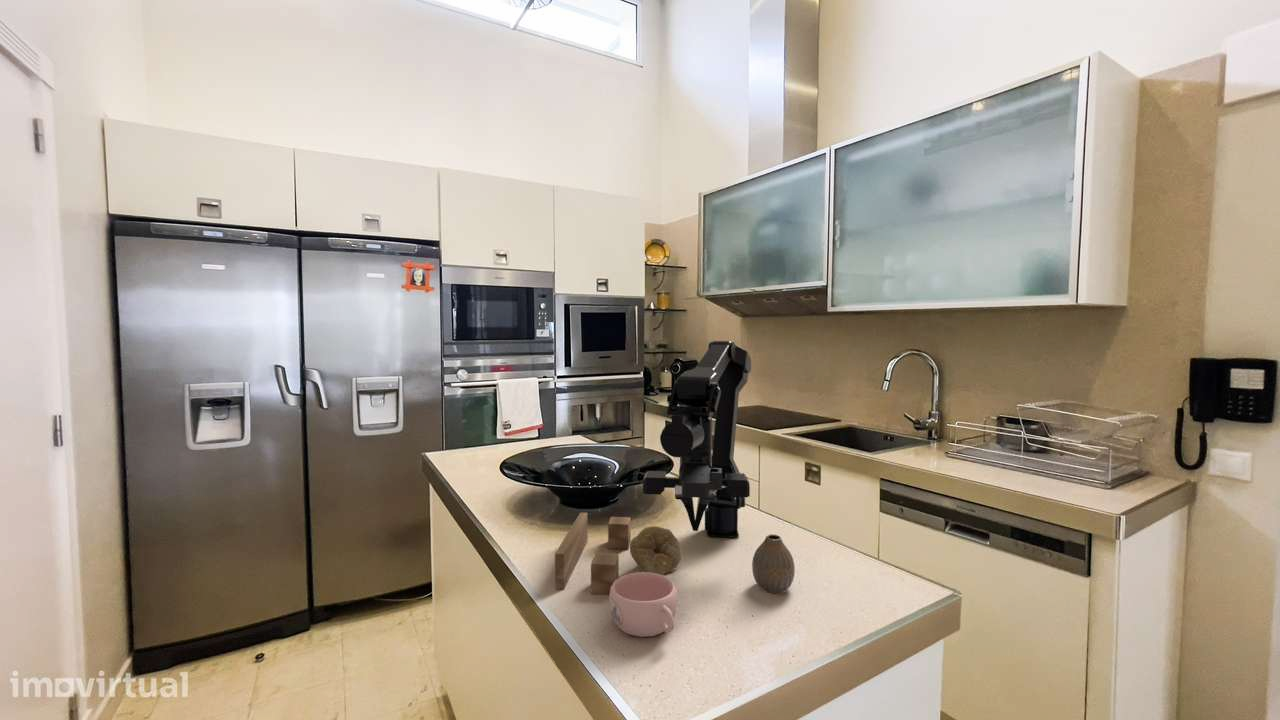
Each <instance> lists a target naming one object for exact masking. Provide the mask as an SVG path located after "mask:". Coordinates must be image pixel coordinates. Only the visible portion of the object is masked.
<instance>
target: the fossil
mask: <svg viewBox="0 0 1280 720" xmlns="http://www.w3.org/2000/svg"><path fill="white" fill-rule="evenodd" d="M629 552H630V555H631V557H632V559H633V561H635V563H636V565H637V566H638V567H639V569H640V572H651V573H656V574H660V575H663V576H665V574H666V573H669V572H672V571H674V570H675V569H676V568H678V566H679V564H680V562H681V559H682V552H681V545H680V541H679V540H678V538H677V537H676V536H675V535H674V533H673V532H672V531H671V530H670V529H669V528H665V527H664V528H663V527H660V526H655V525H653V526H646V527H645V528H643V529H641V530H640V531H639V533H638V534H637V535H636V536H634V537H633V538H632V539H631V542H630V545H629Z"/></svg>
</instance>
